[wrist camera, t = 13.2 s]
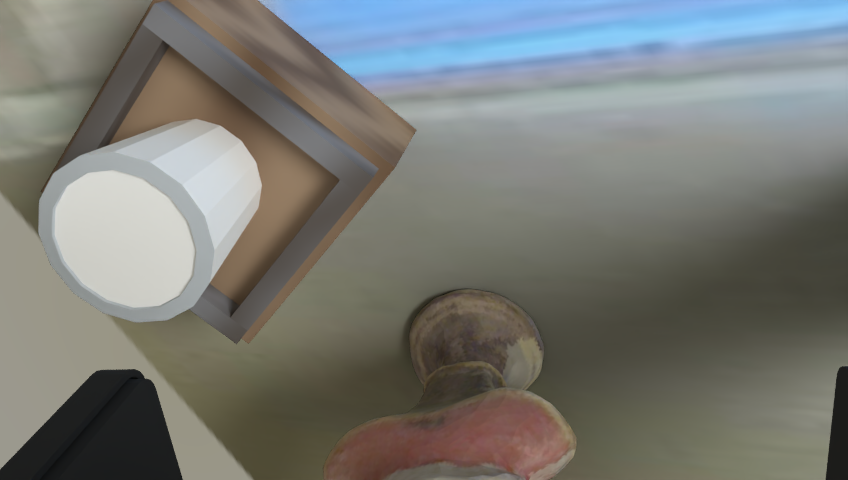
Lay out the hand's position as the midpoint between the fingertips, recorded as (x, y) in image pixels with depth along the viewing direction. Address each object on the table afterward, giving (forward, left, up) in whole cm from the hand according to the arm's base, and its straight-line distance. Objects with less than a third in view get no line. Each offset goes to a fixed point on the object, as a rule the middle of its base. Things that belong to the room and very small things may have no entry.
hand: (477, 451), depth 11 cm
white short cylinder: (+8, +12, -22) cm, 27 cm away
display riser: (+8, +12, -28) cm, 32 cm away
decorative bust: (-9, +15, -28) cm, 33 cm away
